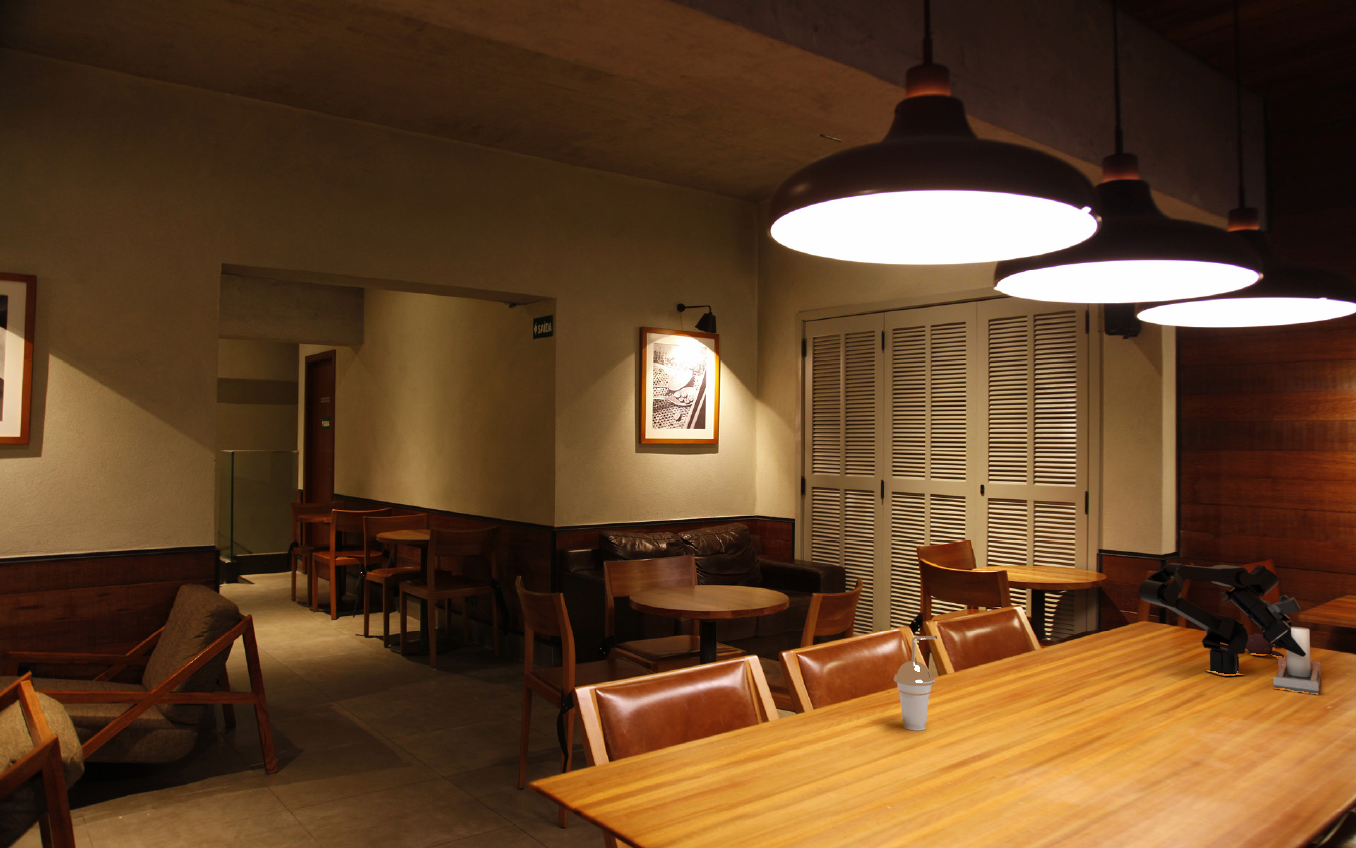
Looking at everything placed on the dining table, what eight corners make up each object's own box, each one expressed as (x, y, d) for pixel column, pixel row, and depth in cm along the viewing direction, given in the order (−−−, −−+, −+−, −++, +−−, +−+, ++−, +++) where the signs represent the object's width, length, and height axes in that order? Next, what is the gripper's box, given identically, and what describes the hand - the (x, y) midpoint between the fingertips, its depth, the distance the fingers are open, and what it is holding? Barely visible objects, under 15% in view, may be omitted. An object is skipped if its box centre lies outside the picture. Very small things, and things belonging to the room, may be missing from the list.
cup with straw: (918, 719, 188) (918, 627, 189) (945, 732, 180) (944, 635, 181) (885, 723, 185) (885, 630, 186) (911, 736, 177) (910, 638, 178)
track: (1318, 695, 210) (1317, 676, 210) (1273, 689, 215) (1273, 671, 216) (1320, 678, 226) (1320, 661, 227) (1279, 673, 232) (1278, 656, 232)
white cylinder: (1310, 678, 222) (1309, 631, 223) (1286, 675, 225) (1285, 628, 226) (1310, 674, 226) (1309, 628, 227) (1287, 671, 229) (1286, 626, 230)
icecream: (1222, 631, 258) (1277, 645, 245) (1235, 623, 261) (1290, 636, 248) (1223, 653, 259) (1278, 667, 246) (1236, 644, 262) (1291, 658, 249)
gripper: (1277, 590, 222) (1332, 639, 215) (1278, 582, 237) (1329, 627, 230) (1241, 618, 226) (1294, 666, 219) (1244, 608, 241) (1294, 653, 234)
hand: (1304, 652), depth 225 cm, fingers open, 9 cm apart
